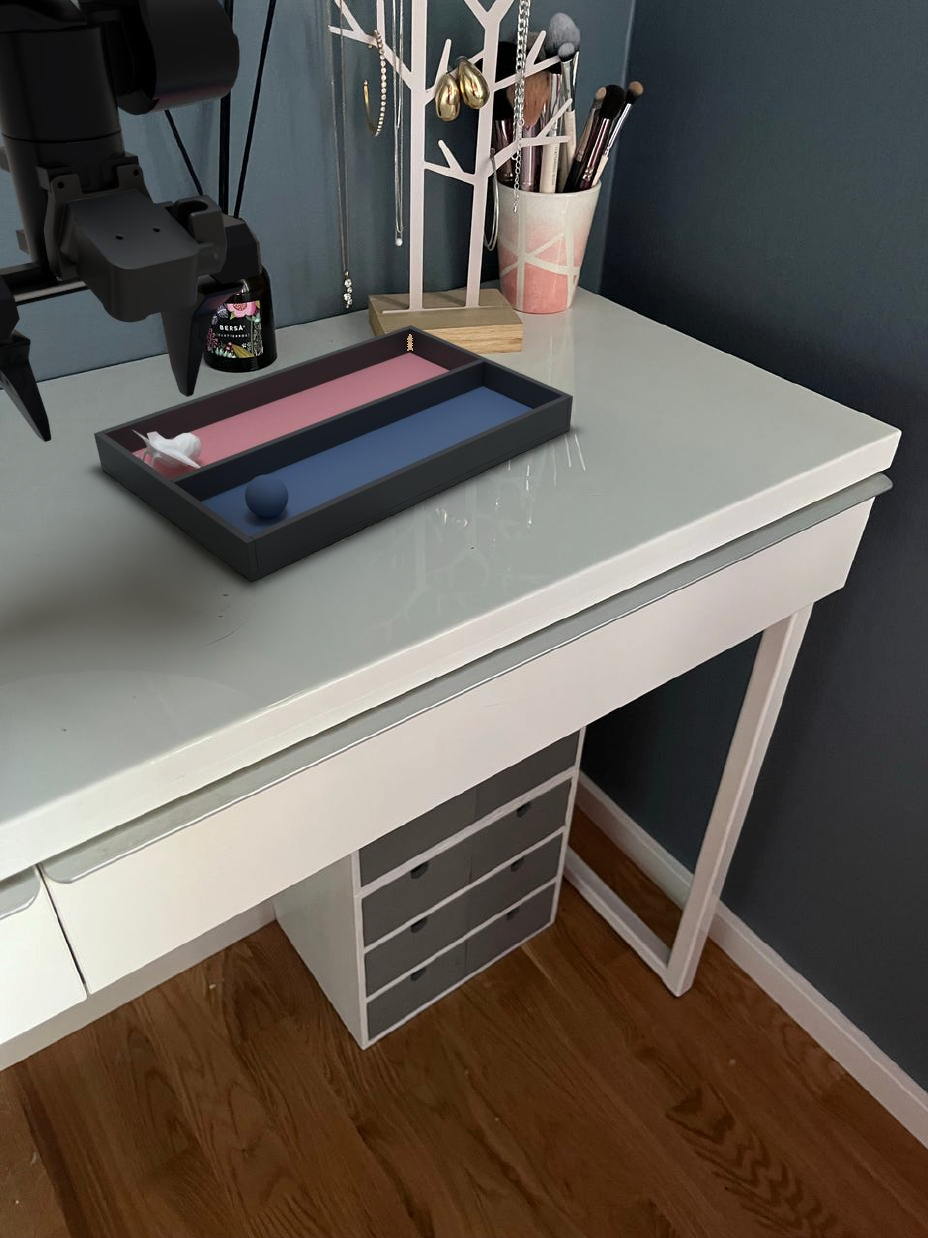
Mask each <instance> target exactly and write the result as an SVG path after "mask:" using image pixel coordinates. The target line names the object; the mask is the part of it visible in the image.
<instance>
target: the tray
mask: <svg viewBox="0 0 928 1238" xmlns="http://www.w3.org/2000/svg"><path fill="white" fill-rule="evenodd" d="M409 334H411V335H412V338H413V339H412V340H413V341H412V343H413V344H412V345H413V346H412V348H413V351H412V350H409V351H407V349H408V347H407V346H408V345H407V344H408V342H407V341H408V340H407V338H408V336H409ZM573 401H574V395H571V394H569V393H567V392H565V391H562V390H561V389H558V388H555V387H553V386H551V385H548V384H546V383H544V382H542V381H539V380H538V379H535V378H533V377H530V376H529V375H526V374H523V373H521V372H519V371H517V370H514V369H512V368H510V367H507V366H505V365H503V364H501V363H498V362H496V361H494V360H491V359H489V358H487V357H484V356H483V355H480V354H477V353H475V352H473V351H471V350H469V349H466V348H465V347H461V346H459V345H457V344H455V343H452V342H451V341H448V340H445V339H443V338H441V337H439V336H437V335H435V334H432V333H429V332H428V331H425V330H423V329H420V328H418V327H416V326H414V325H412V324H410V325H407V326H404V327H401V328H398V329H396V330H392V331H389V332H386V333H383V334H381V335H377V336H375V337H372V338H368V339H366V340H363V341H360V342H357V343H354V344H351V345H348V346H345V347H343V348H342V347H341V348H339V349H337V350H334V351H330V352H327V353H325V354H322V355H319V356H317V357H316V356H315V357H312V358H311V359H307V360H305V361H302V362H299V363H295V364H293V365H290V366H286V367H284V368H280V369H278V370H275V371H271V372H269V373H266V374H264V375H260V376H258V377H255V378H252V379H248V380H245V381H243V382H240V383H237V384H234V385H231V386H228V387H225V388H222V389H220V390H217V391H213V392H211V393H208V394H204V395H202V396H199V397H196V398H193V399H189V400H187V401H184V402H181V403H178V404H176V405H173V406H170V407H166V408H164V409H160V410H158V411H155V412H152V413H149V414H147V415H143V416H140V417H137V418H134V419H132V420H129V421H126V422H123V423H119V424H117V425H114V426H111V427H108V428H105V429H102V430H101V431H100V430H99V431H97V432H94V433H93V436H94V440H95V444H96V449H97V453H98V454H97V455H98V459H99V461H100V466H101V470H102V471H104V472H105V473H107V475H109V476H110V477H112V478H113V479H114V480H116V481H117V482H118V483H120V484H121V485H122V486H123V487H125V488H127V489H128V490H129V491H130V492H132V493H133V494H135V495H136V496H137V497H138V498H139V499H141V500H143V501H144V502H145V504H148V505H149V506H150V507H152V508H153V509H154V510H156V511H157V512H159V513H160V514H161V515H162V516H164V517H165V518H166V519H167V520H168V521H170V522H171V523H173V524H174V525H176V526H177V527H178V528H179V529H181V530H182V531H183V532H185V533H186V534H187V535H189V536H190V537H191V538H193V539H194V540H196V542H198V543H200V544H201V545H202V546H204V547H205V548H206V549H207V550H208V551H210V552H211V553H213V554H214V555H216V556H217V557H218V558H219V559H221V560H222V561H223V562H225V564H227V565H229V566H230V567H231V568H232V569H234V570H235V571H237V572H238V573H240V575H242V576H243V577H245V579H247V580H249V581H250V582H252V583H253V582H255V581H257V580H259V579H261V578H263V577H266V576H267V575H269V574H271V573H273V572H276V571H277V570H280V569H282V568H284V567H286V566H288V565H290V564H293V563H294V562H296V561H298V560H300V559H304V557H307V556H309V555H311V554H313V553H315V552H318V551H319V550H322V549H324V548H326V547H328V546H330V545H332V544H334V543H336V542H338V541H340V540H343V539H344V538H347V537H349V536H351V535H353V534H355V533H358V532H359V531H362V530H364V529H365V528H367V527H370V526H371V525H374V524H376V523H378V522H380V521H382V520H384V519H386V518H388V517H390V516H393V515H395V514H397V513H398V512H401V511H404V510H406V509H408V508H410V507H411V506H413V505H416V504H418V503H420V502H422V501H424V500H427V499H429V498H430V497H433V496H435V495H437V494H438V493H441V492H443V491H445V490H447V489H449V488H451V487H453V486H455V485H458V484H459V483H462V482H464V481H466V480H468V479H470V478H472V477H474V476H476V475H478V474H480V473H482V472H485V471H487V470H489V469H491V468H493V467H495V466H497V465H500V464H501V463H504V462H506V461H509V460H510V459H512V458H514V457H517V456H519V455H520V454H522V453H524V452H526V451H529V450H531V449H533V448H535V447H537V446H539V445H541V444H543V443H545V442H548V441H550V440H552V439H555V438H556V437H558V436H560V435H562V434H564V433H567V432H569V431H570V430H571V422H572V411H573ZM133 430H134V431H136V432H137V433H139V434H141V435H142V436H144V437H145V438H147V439H148V440H149V438H148V435H147V433H151V432H157V433H158V434H159V435H160V436H162V437H163V438H165V439H170V440H173V439H174V438H175V437H177V436H178V435H180V434H183V433H191V434H193V435H195V436H196V437H197V438H198V437H199V440H200V441H201V445H202V451H201V455H200V456H199V458H198V459H197V460H195V461H194V462H195V463H196V464H198V465H199V466H200V468H196V467H193V466H191V465H188V466H187V467H186V466H182V465H179V466H177V467H174V468H173V467H166V466H164V465H162V464H160V463H158V462H157V461H156V460H155V461H154V464H153V468H152V467H150V466H149V465H151V463H152V459H153V458H152V457H151V456H150V455H149V454H147V453H146V456H145V459H144V462H143V461H142V460H141V459H139V458H138V457H137V456H136V455H139V456H140V457H141V458H143V454H144V451H145V450H146V448H147V445H146V443H145V441H144V439H143V438H141V437H140V436H139V435H138V434H137V433H135V432H134V431H133ZM145 462H147V463H148V464H149V465H148V464H146V463H145ZM260 475H272V476H275V477H277V478H279V479H280V480H281V481H282V482H283V483H284V484H285V486H286V488H287V490H288V503H287V506H286V507H285V509H284V510H283V511H282V512H281V513H280V514H279V515H277V516H274V517H270V518H264V517H260V516H257V515H256V514H254V513H253V512H252V511H251V510H250V509H249V508H248V506H247V504H246V501H245V491H246V488H247V486H248V484H249V483H250V481H251V480H253V479H254V478H256V477H258V476H260Z"/></svg>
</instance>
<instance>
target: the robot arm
mask: <svg viewBox="0 0 928 1238" xmlns="http://www.w3.org/2000/svg"><path fill="white" fill-rule="evenodd" d="M240 52H241V51H240V43H239V38H238V35H237V34H236V33H235V32H234V29H233V26H232V22H231V19H230V18H229V16H228V14H227V12H226V10H225V8H224V6H223V5H222V4H221V2H220V1H219V0H77V2H73V1H72V0H0V132H1V133H0V135H1V138H2V143H3V146H0V169H1V170H3V171H5V172H7V173H10V178H11V182H12V186H13V190H14V194H15V199H16V203H17V207H18V212H19V216H20V220H21V224H22V228H21V229H16V230H15V235H16V239H17V243H18V247H19V250H20V251H22V252H23V253H26V254H27V255H29V258H30V262H25V263H21V264H16V265H11V266H8V267H7V266H6V267H2V268H0V387H1V388H2V390H3V391H4V392H5V393H6V395H7V396H8V397H9V399H10V400H11V402H12V403H13V404H14V405H15V407H16V408H17V410H18V411H19V413H20V414H21V415H22V417H23V419H24V420H25V421H26V423H27V424H28V425H29V427H30V428H31V429H32V431H33V432H34V433H35V435H36V436H37V437H38V438H39V439H40V440H41V441H42V442H44V443H47V442H51V441H52V432H51V427H50V420H49V416H48V414H47V411H46V407H45V403H44V401H43V399H42V395H41V392H40V389H39V386H38V383H37V381H36V376H35V375H34V372H33V368H32V365H31V363H30V352H31V343H32V341H31V339H30V338H29V337H27V336H26V335H24V334H23V333H21V332H20V331H18V330H17V329H15V328H16V326H17V324H18V323H19V321H20V320H21V317H20V314H19V310H18V307H19V306H24V305H28V304H33V303H36V302H42V301H45V300H49V299H53V298H59V297H63V296H66V295H67V296H68V295H72V294H75V293H79V292H84V291H88V290H90V292H92V294H93V295H94V296H95V298H97V299H98V301H99V302H100V303H101V304H102V306H103V307H102V308H103V309H104V310H105V312H106V313H107V314H108V316H110V317H112V318H113V319H115V320H117V321H119V322H123V323H138V322H141V321H144V320H146V319H147V318H148V317H149V316H153V315H156V314H159V313H160V319H161V323H162V327H163V328H162V329H163V333H164V337H165V338H164V339H165V342H166V347H167V352H168V353H167V354H168V357H169V361H170V367H171V370H172V371H171V372H172V374H173V377H174V380H175V383H176V386H177V389H178V392H179V393H180V394H182V396H185V397H187V398H189V397H192V396H193V395H194V394H195V390H196V386H197V380H198V378H199V372H200V368H201V363H202V360H203V356H204V351H205V347H206V342H207V339H208V335H209V331H210V330H211V329H210V328H211V326H212V322H213V320H214V317H215V315H216V312H217V311H218V309H219V308H220V307H221V306H222V305H223V304H224V303H225V302H226V301H228V299H229V298H230V297H232V296H233V295H235V294H236V295H237V294H239V293H241V292H242V291H243V289H244V287H245V281H243V280H245V279H248V278H254V277H257V276H260V275H261V274H262V271H263V265H262V255H261V245H260V244H261V243H260V241H259V239H258V238H257V235H256V234H255V232H254V230H253V228H251V227H250V225H249V224H248V223H247V222H246V221H242V220H241V219H237V218H235V217H233V216H231V215H228V214H225V213H223V211H222V207H221V206H220V205H219V204H218V203H217V202H216V201H215V200H214V199H213V198H212V197H211V196H210V195H208V194H201V195H194V196H190V197H185V198H180V199H177V200H175V201H174V202H173V200H168V201H162V202H157V203H156V202H154V201H153V199H152V197H151V195H150V192H149V190H148V188H147V185H146V182H145V176H144V171H143V167H142V166H140V161H139V155H137V154H134V153H132V152H129V151H126V148H125V142H124V136H123V130H122V129H123V128H122V126H121V125H122V124H121V119H120V113H119V109H120V110H121V111H123V112H125V113H127V114H129V115H132V116H141V115H148V114H153V113H158V112H163V111H168V110H173V109H178V108H183V107H188V106H193V105H198V104H203V103H207V102H213V101H218V100H221V99H223V98H224V97H226V96H227V95H228V94H229V93H230V92H231V90H232V89H233V88H234V86H235V83H236V81H237V78H238V76H239V75H238V74H239V70H240V65H241V64H240V63H241V62H240V61H241V60H240V57H241V56H240V55H241V53H240Z"/></svg>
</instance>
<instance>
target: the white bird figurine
mask: <svg viewBox="0 0 928 1238" xmlns="http://www.w3.org/2000/svg"><path fill="white" fill-rule="evenodd" d="M133 431H134V430H133ZM134 432H135V433H137V432H136V431H134ZM137 434H138V435H139V436H140V437H141V438H143V439H144V441H145V443H146V445H147V448H146V450H145V451H144V454H143V458H141V457H140V456H139V455H136V456H137V457H138V458H139V459H141V460H142V461H143V462H144V459H145V456H146V453H147V454H149V455H150V456H151V457H152V458H153V459H152V463H151V465H149V464H148V463H147V462H145V463H146V464H148V465H149V466H150V467H152V468H153V464H154V461H155V460H156V461H157V462H158V463H160V464H162V465H164V466H166V467H173V468H174V467H177V466H179V465H182V466H186V467H187V466H188V465H191V466H193V467H196V468H200V466H199V465H198V464H196V463H195V462H194V461H195V460H197V459H198V458H199V456H200V455H201V451H202V445H201V441H200V440H199V437H198V438H197V437H196V436H195V435H193V434H191V433H183V434H180V435H178V436H177V437H175V438H174V439H173V440H170V439H165V438H163V437H162V436H160V435H159V434H158V433H157V432H151V433H147V435H148V438H149V440H148V439H147V438H145V437H144V436H142V435H141V434H139V433H137Z"/></svg>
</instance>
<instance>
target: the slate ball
mask: <svg viewBox="0 0 928 1238" xmlns="http://www.w3.org/2000/svg"><path fill="white" fill-rule="evenodd" d="M245 501H246V504H247V506H248V508H249V509H250V510H251V511H252V512H253V513H254V514H256V515H257V516H260V517H264V518H270V517H274V516H277V515H279V514H280V513H281V512H282V511H283V510H284V509H285V507H286V506H287V503H288V490H287V488H286V486H285V484H284V483H283V482H282V481H281V480H280V479H279V478H277V477H275V476H272V475H260V476H258V477H256V478H254V479H253V480H251V481H250V483H249V484H248V486H247V488H246V491H245Z"/></svg>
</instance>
